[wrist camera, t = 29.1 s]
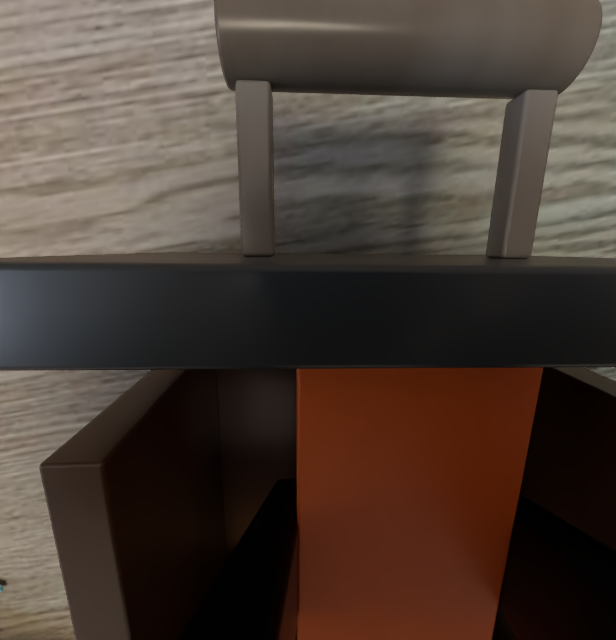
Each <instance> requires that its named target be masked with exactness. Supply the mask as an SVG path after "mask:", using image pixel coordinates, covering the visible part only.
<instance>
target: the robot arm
mask: <svg viewBox="0 0 616 640" xmlns="http://www.w3.org/2000/svg"><path fill="white" fill-rule="evenodd" d="M499 604H500V606H501V608H502V610H503V612H504V614H505V616H506V618H507V620H508V622H509V624H510V626H511V628H512V630H513V632H514V634H515V636H516V638H517V640H616V551H615V550H613V549H612V548H610V547H608V546H606V545H605V544H603V543H601V542H600V541H598V540H596V539H595V538H593V537H591V536H590V535H588V534H586V533H585V532H583V531H581V530H580V529H578V528H576V527H575V526H573V525H571V524H569V523H568V522H566V521H564V520H563V519H561V518H559V517H558V516H556V515H554V514H553V513H551V512H549V511H548V510H546V509H544V508H543V507H541V506H539V505H538V504H536V503H534V502H532V501H531V500H529V499H527V498H526V497H524V496H522V495H521V494H519V499H518V505H517V510H516V515H515V520H514V526H513V531H512V536H511V541H510V547H509V552H508V557H507V562H506V568H505V573H504V578H503V583H502V589H501V594H500V599H499ZM297 613H298V526H297V479H295V478H281V479H278V480H277V481H276V483H275V484H274V486H273V488H272V489H271V491H270V492H269V494H268V496H267V497H266V499H265V500H264V502H263V504H262V505H261V507H260V508H259V510H258V512H257V513H256V515H255V516H254V518H253V520H252V521H251V523H250V524H249V526H248V528H247V529H246V531H245V532H244V534H243V536H242V537H241V539H240V540H239V542H238V544H237V545H236V547H235V548H234V550H233V552H232V553H231V555H230V556H229V558H228V560H227V561H226V563H225V564H224V566H223V568H222V569H221V571H220V572H219V574H218V576H217V577H216V579H215V580H214V582H213V584H212V585H211V587H210V588H209V590H208V592H207V593H206V595H205V596H204V598H203V600H202V601H201V603H200V604H199V606H198V608H197V609H196V611H195V612H194V614H193V616H192V617H191V619H190V620H189V622H188V624H187V625H186V627H185V628H184V630H183V632H182V633H181V635H180V636H179V638H178V640H295V638H296V627H297Z"/></svg>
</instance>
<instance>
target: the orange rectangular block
mask: <svg viewBox="0 0 616 640" xmlns="http://www.w3.org/2000/svg"><path fill="white" fill-rule="evenodd" d="M543 368H544V367H542V368H361V369H296V479H297V526H298V613H297V640H492V636H493V631H494V625H495V620H496V615H497V610H498V604H499V599H500V594H501V589H502V583H503V578H504V573H505V568H506V562H507V557H508V552H509V547H510V541H511V536H512V531H513V526H514V520H515V515H516V510H517V505H518V499H519V494H520V489H521V483H522V478H523V473H524V468H525V462H526V457H527V452H528V447H529V441H530V436H531V431H532V426H533V420H534V415H535V410H536V405H537V399H538V394H539V389H540V384H541V378H542V373H543Z"/></svg>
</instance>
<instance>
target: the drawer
mask: <svg viewBox="0 0 616 640" xmlns="http://www.w3.org/2000/svg"><path fill="white" fill-rule="evenodd" d="M214 13H215V27H216V36H217V44H218V51H219V57H220V62H221V67H222V72H223V75H224V79H225V82H226V84H227V86H228V88H229V89H230V90H232V91H235V93H236V120H237V146H238V173H239V200H240V227H241V252H242V253H194V252H165V253H135V254H105V255H75V256H44V257H14V258H0V370H151V371H150V372H149V373H148V374H146V375H145V376H144V377H143V378H142V379H140V380H139V381H138V382H137V383H136V384H135V385H133V386H132V387H131V388H130V389H129V390H127V391H126V392H125V393H124V394H123V395H122V396H120V397H119V398H118V399H117V400H116V401H114V402H113V403H112V404H111V405H110V406H109V407H107V408H106V409H105V410H104V411H103V412H101V413H100V414H99V415H98V416H97V417H96V418H94V419H93V420H92V421H91V422H90V423H88V424H87V425H86V426H85V427H84V428H83V429H81V430H80V431H79V432H78V433H77V434H76V435H74V436H73V437H72V438H71V439H70V440H68V441H67V442H66V443H65V444H64V445H63V446H61V447H60V448H59V449H58V450H57V451H55V452H54V453H53V454H52V455H51V456H50V457H48V458H47V459H46V460H45V461H44V462H42V463H41V465H40V473H41V478H42V482H43V487H44V492H45V496H46V501H47V506H48V511H49V515H50V520H51V525H52V529H53V534H54V539H55V544H56V548H57V553H58V558H59V562H60V567H61V572H62V576H63V581H64V586H65V591H66V595H67V600H68V605H69V609H70V614H71V619H72V624H73V628H74V633H75V638H76V640H178V638H179V636H180V635H181V633H182V632H183V630H184V628H185V627H186V625H187V624H188V622H189V620H190V619H191V617H192V616H193V614H194V612H195V611H196V609H197V608H198V606H199V604H200V603H201V601H202V600H203V598H204V596H205V595H206V593H207V592H208V590H209V588H210V587H211V585H212V584H213V582H214V580H215V579H216V577H217V576H218V574H219V572H220V571H221V569H222V568H223V566H224V564H225V563H226V561H227V560H228V558H229V556H230V555H231V553H232V552H233V550H234V548H235V547H236V545H237V544H238V542H239V540H240V539H241V537H242V536H243V534H244V532H245V531H246V529H247V528H248V526H249V524H250V523H251V521H252V520H253V518H254V516H255V515H256V513H257V512H258V510H259V508H260V507H261V505H262V504H263V502H264V500H265V499H266V497H267V496H268V494H269V492H270V491H271V489H272V488H273V486H274V484H275V483H276V481H277V480H278V479H281V478H295V479H296V369H361V368H542V367H544V368H543V373H542V378H541V384H540V389H539V394H538V399H537V405H536V410H535V415H534V420H533V426H532V431H531V436H530V441H529V447H528V452H527V457H526V462H525V468H524V473H523V478H522V483H521V489H520V494H521V495H522V496H524V497H526V498H527V499H529V500H531V501H532V502H534V503H536V504H538V505H539V506H541V507H543V508H544V509H546V510H548V511H549V512H551V513H553V514H554V515H556V516H558V517H559V518H561V519H563V520H564V521H566V522H568V523H569V524H571V525H573V526H575V527H576V528H578V529H580V530H581V531H583V532H585V533H586V534H588V535H590V536H591V537H593V538H595V539H596V540H598V541H600V542H601V543H603V544H605V545H606V546H608V547H610V548H612V549H613V550H615V551H616V381H614V380H611V379H609V378H606V377H604V376H602V375H599V374H597V373H594V372H592V371H590V370H587V369H585V368H582V367H616V259H613V258H582V257H551V256H531V252H532V246H533V240H534V234H535V228H536V222H537V216H538V210H539V204H540V199H541V193H542V187H543V181H544V175H545V169H546V163H547V157H548V151H549V145H550V139H551V133H552V127H553V121H554V115H555V109H556V103H557V97H558V95H559V94H560V93H562V92H563V91H564V90H565V89H566V88H567V87H568V86H570V84H571V83H572V82H573V81H574V80H575V79H576V77H577V76H578V75H579V74H580V72H581V71H582V69H583V68H584V66H585V64H586V63H587V61H588V59H589V57H590V55H591V53H592V51H593V49H594V47H595V44H596V42H597V39H598V36H599V33H600V28H601V23H602V7H601V3H600V2H599V0H214ZM272 92H291V93H324V94H357V95H390V96H423V97H456V98H489V99H513V100H511V101H510V102H508V103H507V105H506V110H505V117H504V124H503V132H502V139H501V147H500V154H499V161H498V169H497V176H496V184H495V191H494V198H493V206H492V213H491V220H490V228H489V235H488V243H487V250H486V255H406V254H300V253H275V216H274V143H273V96H272ZM295 640H297V627H296V638H295ZM492 640H517V638H516V636H515V634H514V632H513V630H512V628H511V626H510V624H509V622H508V620H507V618H506V616H505V614H504V612H503V610H502V608H501V606H500V604H498V610H497V615H496V620H495V625H494V631H493V636H492Z"/></svg>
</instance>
